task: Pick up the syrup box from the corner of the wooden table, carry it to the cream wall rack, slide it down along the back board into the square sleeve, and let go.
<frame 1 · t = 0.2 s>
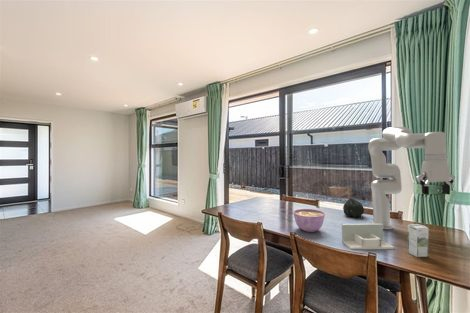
hand: (435, 194, 106), 30 cm above the table, tool pointing down, fingers open, 9 cm apart
syrup box: (417, 255, 109), on the table
bowl of food: (309, 230, 148), on the table
wall rack: (366, 245, 122), on the table
squash: (353, 216, 177), on the table
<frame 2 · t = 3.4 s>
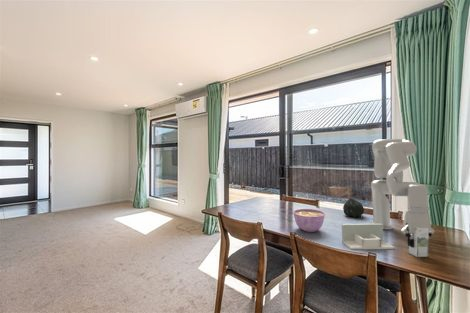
hand: (417, 246, 109), 4 cm above the table, tool pointing down, fingers closed on syrup box, 5 cm apart
syrup box: (417, 255, 109), on the table, touching gripper
everything else where it was.
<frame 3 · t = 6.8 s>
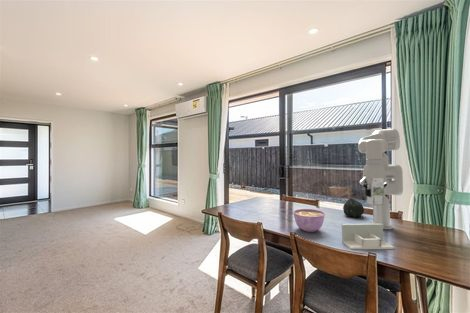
hand: (374, 195, 119), 27 cm above the table, tool pointing down, fingers closed on syrup box, 5 cm apart
syrup box: (374, 204, 119), point 23 cm above the table, touching gripper
everything else where it was.
when the fingers open (7 cm above the table, at t = 10.5 s): syrup box drops 1 cm, resting on wall rack.
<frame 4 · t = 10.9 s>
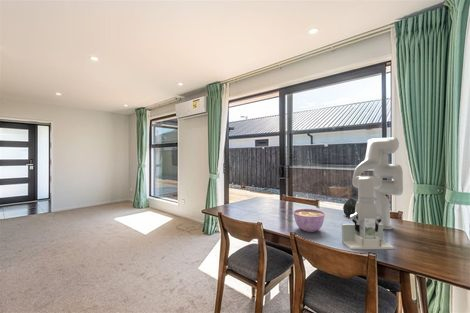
hand: (366, 231, 122), 8 cm above the table, tool pointing down, fingers open, 9 cm apart
syrup box: (366, 243, 122), point 1 cm above the table, touching wall rack
everything else where it was.
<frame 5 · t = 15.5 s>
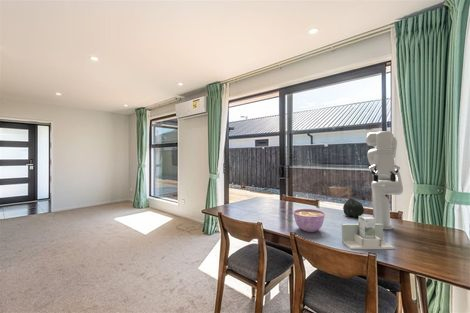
hand: (384, 181, 131), 33 cm above the table, tool pointing down, fingers open, 9 cm apart
nothing on the table moved.
at the end: syrup box 0.3 cm off-centre on the wall rack, point 0.8 cm above the wall rack's base; syrup box tilted 0°; the gripper is holding nothing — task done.
